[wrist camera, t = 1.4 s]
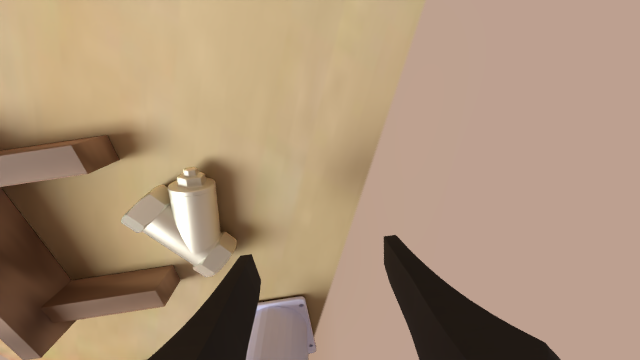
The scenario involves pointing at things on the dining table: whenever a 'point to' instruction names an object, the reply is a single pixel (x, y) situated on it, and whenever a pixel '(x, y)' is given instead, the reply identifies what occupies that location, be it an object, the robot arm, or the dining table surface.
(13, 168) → the fitting jig
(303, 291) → the dining table surface
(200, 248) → the pipe fitting
